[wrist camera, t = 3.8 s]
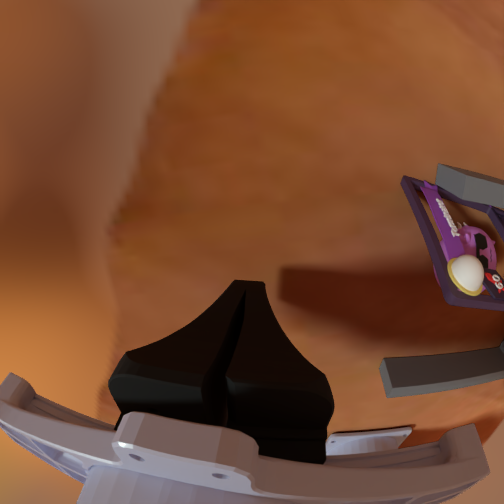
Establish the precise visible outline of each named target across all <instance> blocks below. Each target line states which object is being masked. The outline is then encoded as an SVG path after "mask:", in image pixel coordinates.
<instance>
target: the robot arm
mask: <svg viewBox="0 0 504 504" xmlns="http://www.w3.org/2000/svg"><path fill="white" fill-rule="evenodd" d="M108 387H109V390H110V392H111V395H112V396H113V398H114V400H115V402H116V404H117V406H118V407H119V409H120V411H121V414H120V417H119V419H118V421H117V423H116V425H115V426H114V425H111V424H108V423H105V422H102V421H100V420H97V419H94V418H91V417H89V416H86V415H83V414H81V413H78V412H76V411H73V410H71V409H69V408H66V407H64V406H61V405H59V404H57V403H55V402H52V401H50V400H48V399H46V398H44V397H42V396H40V395H38V394H36V393H35V391H34V389H33V387H32V386H31V385H30V384H29V383H28V382H27V381H26V380H25V379H23V378H21V377H19V376H17V375H15V374H13V373H9V374H8V376H7V377H6V378H5V380H4V381H3V382H2V384H1V385H0V428H1V429H2V430H3V431H4V432H5V433H6V434H7V435H8V436H9V437H10V438H11V439H12V440H13V441H14V442H16V443H17V444H19V445H20V446H22V447H23V448H25V449H26V450H28V451H29V452H31V453H32V454H34V455H35V456H37V457H38V458H40V459H42V460H43V461H45V462H46V463H48V464H50V465H51V466H53V467H55V468H56V469H58V470H60V471H61V472H63V473H65V474H67V475H68V476H70V477H72V478H74V479H76V480H77V481H79V482H81V483H83V484H84V486H83V488H82V491H81V493H80V496H79V498H78V501H77V503H76V504H439V503H442V502H445V501H447V500H450V499H453V498H455V497H457V496H458V495H460V494H462V493H463V492H465V491H466V490H468V489H469V488H471V487H472V486H474V485H475V484H477V483H478V482H479V481H481V480H482V479H483V478H485V477H486V476H488V475H489V473H490V469H489V466H488V463H487V459H486V456H485V453H484V450H483V447H482V444H481V441H480V438H479V435H478V432H477V430H476V427H475V424H474V423H471V424H468V425H464V426H461V427H457V428H453V429H451V430H449V431H447V432H446V433H445V434H444V435H443V436H442V437H441V438H440V439H439V441H436V442H431V443H427V444H422V445H417V446H412V447H406V448H400V449H398V447H399V446H400V445H401V444H402V442H403V441H404V440H405V439H406V438H407V437H408V435H409V434H410V433H411V432H412V428H411V427H404V428H397V429H389V430H380V431H369V432H356V433H336V434H332V435H330V436H329V438H328V440H327V442H326V439H327V426H328V424H329V422H330V419H331V417H332V415H333V412H334V399H333V395H332V392H331V389H330V386H329V383H328V380H327V378H326V376H325V374H324V373H322V372H321V371H320V370H318V369H317V368H316V367H315V366H313V365H312V364H311V363H310V362H309V361H308V360H306V359H305V358H304V357H303V356H302V354H301V353H300V352H299V351H298V350H297V349H296V348H295V346H294V345H293V344H292V343H291V342H290V340H289V339H288V337H287V336H286V335H285V333H284V332H283V330H282V328H281V327H280V325H279V323H278V321H277V319H276V317H275V315H274V313H273V311H272V308H271V306H270V303H269V301H268V298H267V294H266V289H265V283H264V282H261V281H246V280H234V281H233V282H232V283H231V284H230V285H229V287H228V288H227V289H226V290H225V291H224V292H223V294H222V295H221V296H220V297H219V298H218V299H217V300H216V301H215V302H214V303H213V304H212V305H211V306H210V307H209V308H208V309H206V310H205V311H204V312H203V313H202V314H201V315H200V316H198V317H197V318H196V319H195V320H193V321H192V322H191V323H189V324H188V325H186V326H185V327H183V328H181V329H180V330H178V331H176V332H174V333H173V334H171V335H169V336H167V337H165V338H163V339H161V340H159V341H156V342H154V343H152V344H149V345H146V346H143V347H140V348H137V349H134V350H131V351H127V352H126V353H125V354H124V356H123V357H122V358H121V360H120V361H119V363H118V365H117V366H116V368H115V370H114V372H113V374H112V375H111V377H110V379H109V381H108Z"/></svg>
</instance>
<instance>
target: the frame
mask: <svg viewBox="0 0 504 504" xmlns="http://www.w3.org/2000/svg"><path fill="white" fill-rule="evenodd" d="M435 184H436V185H438V186H440V187H442V188H443V189H445V190H447V191H449V192H450V193H452V194H454V195H456V196H457V197H459V198H461V199H462V200H468V201H473V202H477V203H482V204H487V205H491V206H496V207H500V208H504V180H500V179H497V178H494V177H490V176H487V175H483V174H480V173H476V172H472V171H468V170H464V169H460V168H456V167H452V166H448V165H443V164H439V163H438V169H437V176H436V182H435ZM379 370H380V374H381V377H382V381H383V385H384V389H385V393H386V397H387V398H392V397H403V396H412V395H420V394H427V393H434V392H441V391H447V390H453V389H458V388H463V387H468V386H473V385H478V384H482V383H487V382H491V381H495V380H499V379H503V378H504V340H503V342H502V343H501V345H500V347H496V348H490V349H483V350H476V351H468V352H460V353H451V354H442V355H430V356H417V357H401V358H384V359H383V361H382V363H381V366H380V368H379Z"/></svg>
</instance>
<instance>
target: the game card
mask: <svg viewBox="0 0 504 504" xmlns="http://www.w3.org/2000/svg"><path fill="white" fill-rule="evenodd" d="M400 184H401V186H402V188H403V190H404V192H405V194H406V197H407V199H408V201H409V203H410V206H411V208H412V210H413V213H414V215H415V217H416V220H417V222H418V224H419V227H420V229H421V232H422V234H423V237H424V240H425V242H426V245H427V248H428V250H429V253H430V256H431V259H432V262H433V268H434V274H435V278H436V280H437V283H438V284H439V286H440V287H441V289H442V293H443V296H444V299H445V301H446V302H447V303H448V304H450V305H453V306H461V307H470V308H479V309H488V310H497V311H504V280H503V279H502V277H501V276H500V275H499V274H498V272H497V271H496V263H497V259H496V252H495V248H494V244H495V241H493V240H491V239H490V237H489V236H488V235H487V234H486V233H485V232H484V231H483V230H482V229H480V228H477V227H473V226H468V225H467V224H466V223H465V222H463V224H464V226H463V227H462V226H461V224H460V223H459V222H457V224H458V228H456V226H454V223H453V220H451V219H452V218H451V216H450V215H449V212H448V210H447V208H446V206H445V204H444V202H443V200H442V199H441V198H444V199H447V200H450V201H453V202H456V203H459V204H462V205H465V206H468V207H471V208H474V209H476V210H479V211H482V212H484V213H486V214H488V216H489V218H490V219H491V221H492V223H493V224H494V226H495V228H496V229H497V231H498V233H499V234H500V236H501V238H502V240H503V242H504V211H503V210H501V209H499V208H496V207H494V206H491V205H487V204H482V203H477V202H473V201H468V200H462V199H461V198H459V197H457V196H456V195H454V194H452V193H450V192H449V191H447V190H445V189H443V188H442V187H440V186H437V185H434V184H431V183H428V182H426V181H425V180H424V181H421V180H418V179H415V178H412V177H408V176H403V178H402V181H401V183H400ZM415 190H419V191H422V192H423V193H424V195H425V197H426V199H427V201H428V204H429V206H430V208H431V211H432V214H433V216H434V219H435V221H436V223H437V226H438V228H439V231H440V233H441V236H442V238H443V239H442V240H441V242H440V243H439V240H438V238H437V235H436V233H435V231H434V228H433V226H432V224H431V222H430V220H429V217H428V215H427V213H426V211H425V209H424V207H423V205H422V203H421V201H420V199H419V197H418V195H417V193H416V191H415ZM485 289H487V291H488V292H489V293H490V295H491V296H488V295H481V294H480V293H481V292H482V291H484V290H485Z"/></svg>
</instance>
